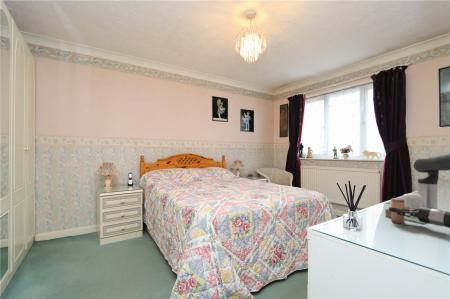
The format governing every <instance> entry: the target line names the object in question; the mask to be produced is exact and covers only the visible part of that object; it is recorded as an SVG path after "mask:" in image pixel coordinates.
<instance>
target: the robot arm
mask: <svg viewBox="0 0 450 299" xmlns="http://www.w3.org/2000/svg"><path fill="white" fill-rule="evenodd" d="M413 168H414V170H415V171H416V172H418V173H422V174H423V173H425V174H426V173H427V174H426V175H425V176H423V177H419V178H417V195H421V196H422V198H423V207H420V208H413V207H404V208H403V209H399V208H393V207H391V206H390V207H388V209H389V211H390V212H395V213H397V214H398V215H402V216H405V217H418V219H419V221H420V222H424V223H426V224H429V225H433V226H439V227H445V228H449V229H450V211H446V210H442V209H438V206H439V204H438V198H439V196H438V195H439V194H438V192H439V191H438V183H439V175H440V174H439V173H440V172H441V171H450V152H446V153H441V154H438V155H433V156H431V157H426V158H425V157H424V158H423V157H422V158H421V157H420V158H417V159H415V161H414V162H413ZM400 211H401V212H402V213H400Z"/></svg>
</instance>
